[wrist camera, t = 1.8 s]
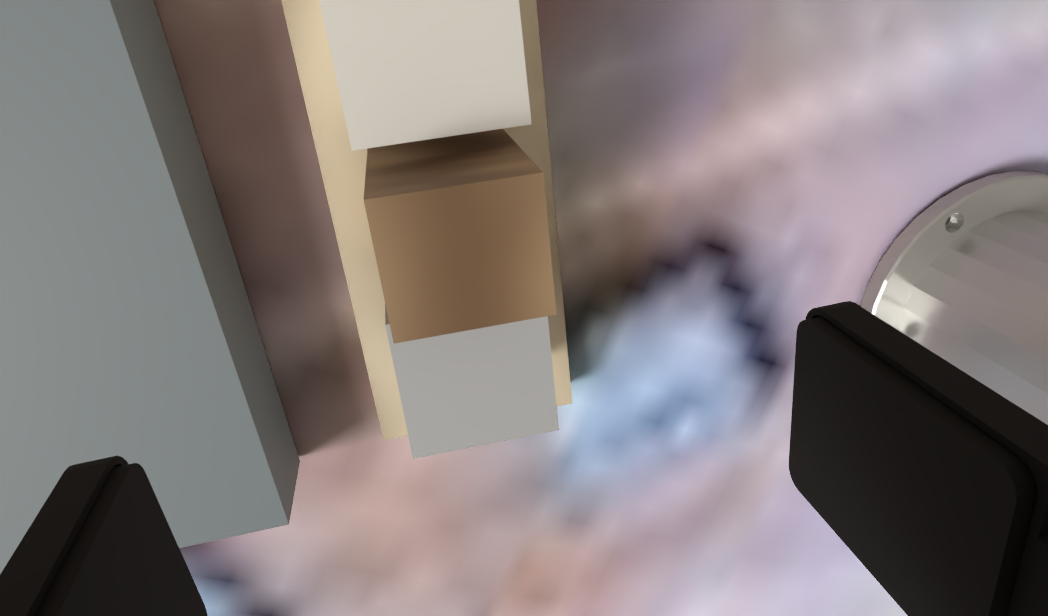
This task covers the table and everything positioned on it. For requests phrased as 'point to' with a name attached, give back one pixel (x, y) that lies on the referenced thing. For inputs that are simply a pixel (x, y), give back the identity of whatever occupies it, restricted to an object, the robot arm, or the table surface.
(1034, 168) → the table surface
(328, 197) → the pallet
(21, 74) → the dock
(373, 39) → the crate
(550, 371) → the block
